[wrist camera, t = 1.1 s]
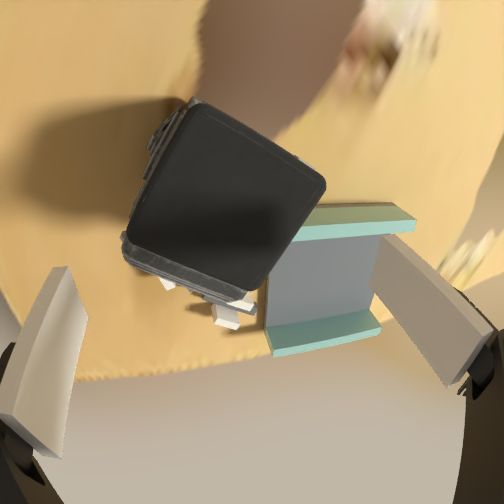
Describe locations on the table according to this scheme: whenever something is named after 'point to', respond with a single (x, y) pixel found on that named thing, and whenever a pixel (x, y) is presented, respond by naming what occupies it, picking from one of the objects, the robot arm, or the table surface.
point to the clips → (223, 309)
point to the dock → (329, 277)
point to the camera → (217, 204)
